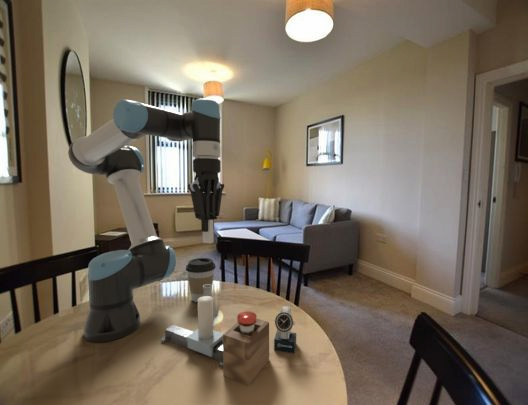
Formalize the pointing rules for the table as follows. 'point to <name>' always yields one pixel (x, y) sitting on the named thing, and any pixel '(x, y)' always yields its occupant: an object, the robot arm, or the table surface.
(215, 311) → the flask
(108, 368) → the table surface
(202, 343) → the carriage
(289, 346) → the watch
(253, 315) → the button plunger
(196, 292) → the coffee cup
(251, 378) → the wooden button housing
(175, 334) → the rail
